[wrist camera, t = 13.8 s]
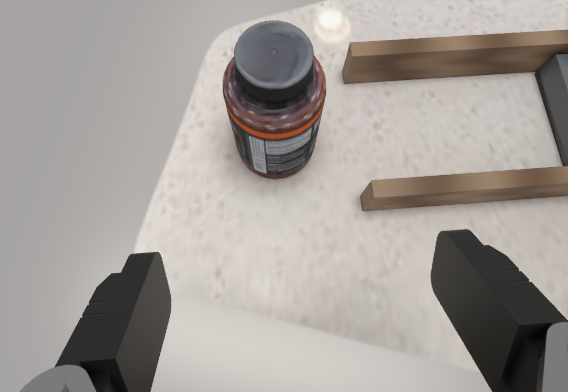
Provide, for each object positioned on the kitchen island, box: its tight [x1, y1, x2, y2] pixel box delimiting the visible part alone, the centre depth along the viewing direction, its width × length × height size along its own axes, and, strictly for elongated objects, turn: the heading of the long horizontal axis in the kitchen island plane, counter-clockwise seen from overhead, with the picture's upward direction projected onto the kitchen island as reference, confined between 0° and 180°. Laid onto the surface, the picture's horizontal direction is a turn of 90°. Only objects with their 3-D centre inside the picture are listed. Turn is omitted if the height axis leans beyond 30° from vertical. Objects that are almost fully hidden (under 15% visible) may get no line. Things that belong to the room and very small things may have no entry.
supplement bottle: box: [223, 21, 326, 178], centre depth 24 cm, size 6×6×11 cm
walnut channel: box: [343, 30, 568, 211], centre depth 29 cm, size 22×12×4 cm, turn 95°
